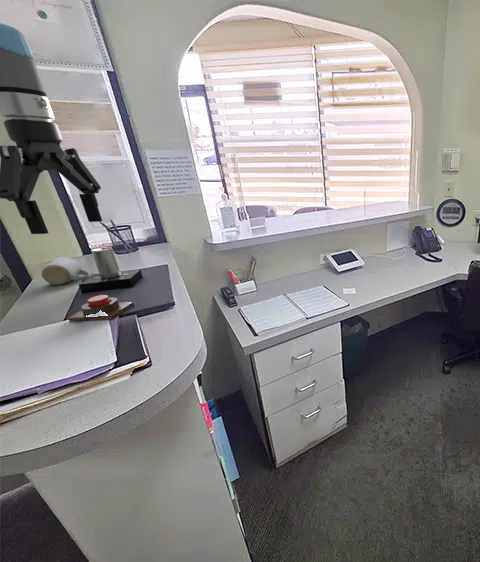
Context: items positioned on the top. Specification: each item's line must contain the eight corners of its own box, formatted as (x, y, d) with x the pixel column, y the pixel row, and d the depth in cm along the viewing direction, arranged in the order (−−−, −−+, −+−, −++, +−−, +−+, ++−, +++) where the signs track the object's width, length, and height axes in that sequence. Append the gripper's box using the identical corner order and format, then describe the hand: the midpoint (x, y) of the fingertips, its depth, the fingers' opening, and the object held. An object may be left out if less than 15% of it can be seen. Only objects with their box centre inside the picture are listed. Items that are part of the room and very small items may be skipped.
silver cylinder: (98, 279, 96) (87, 250, 92) (105, 274, 100) (95, 246, 97) (117, 277, 97) (107, 248, 94) (123, 272, 102) (114, 245, 98)
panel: (81, 293, 93) (78, 284, 92) (97, 282, 102) (93, 273, 101) (132, 287, 97) (129, 278, 96) (143, 277, 106) (140, 268, 105)
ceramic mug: (44, 287, 98) (34, 264, 96) (56, 279, 105) (48, 258, 103) (86, 282, 102) (78, 260, 100) (95, 275, 109) (88, 254, 107)
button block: (71, 326, 74) (64, 311, 73) (96, 311, 82) (91, 297, 80) (114, 323, 75) (109, 309, 73) (135, 309, 82) (131, 295, 81)
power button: (85, 308, 75) (82, 301, 74) (97, 301, 79) (95, 295, 78) (102, 307, 75) (100, 300, 75) (114, 300, 79) (112, 294, 78)
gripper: (-26, 110, 50) (30, 239, 57) (100, 127, 73) (128, 217, 81) (-73, 111, 50) (-11, 240, 57) (68, 127, 73) (99, 217, 81)
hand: (70, 227), depth 69 cm, fingers open, 13 cm apart
